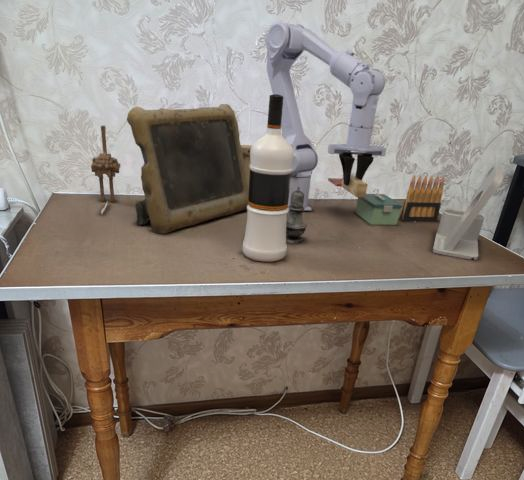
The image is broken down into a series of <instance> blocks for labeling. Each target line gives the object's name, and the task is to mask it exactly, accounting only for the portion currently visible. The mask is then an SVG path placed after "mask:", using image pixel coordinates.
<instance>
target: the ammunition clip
mask: <svg viewBox="0 0 524 480" xmlns="http://www.w3.org/2000/svg"><path fill="white" fill-rule="evenodd" d="M439 179H440V178H439V175H437V176H436V177H435V179H434V176H433V175H431V176H430V178H429V179H428V177H427V175H425V176H424V178H423V180H422V175H421V174H420V175H419V176H418V178H417V180H416V175H413V176H412V178H411V180H410V183H409V187H408V190H407V193H406V197H405V200H404V202H403V204H402V208H401V213H400V216H399V220H401V221H402V222H438V219H439V214H440V210H441V205H442V202H441V201H442V197H443V193H444V186H445V179H446V177H445V175H443V176H442V177H441V179H440V180H439Z"/></svg>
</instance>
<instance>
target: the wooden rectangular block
mask: <svg viewBox="0 0 524 480" xmlns="http://www.w3.org/2000/svg"><path fill="white" fill-rule="evenodd" d="M327 181H328V182H329V183H330V184H332V185H334V186H335V187H341V188H342V189H344V190H346V191H347V192H348V193H350V194H351V195H353V196H354V197H356V198H358V197H366V194H367V191H368V186H369V185H368V183H367V182H365V181H363V179H362V180H360V179H358V178H357V177H355V175H354V174H352V173H351V176H350V182H349V185H345V184H344V178H343V177H342V178H335V177H334V178H333V177H329V178H327Z"/></svg>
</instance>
